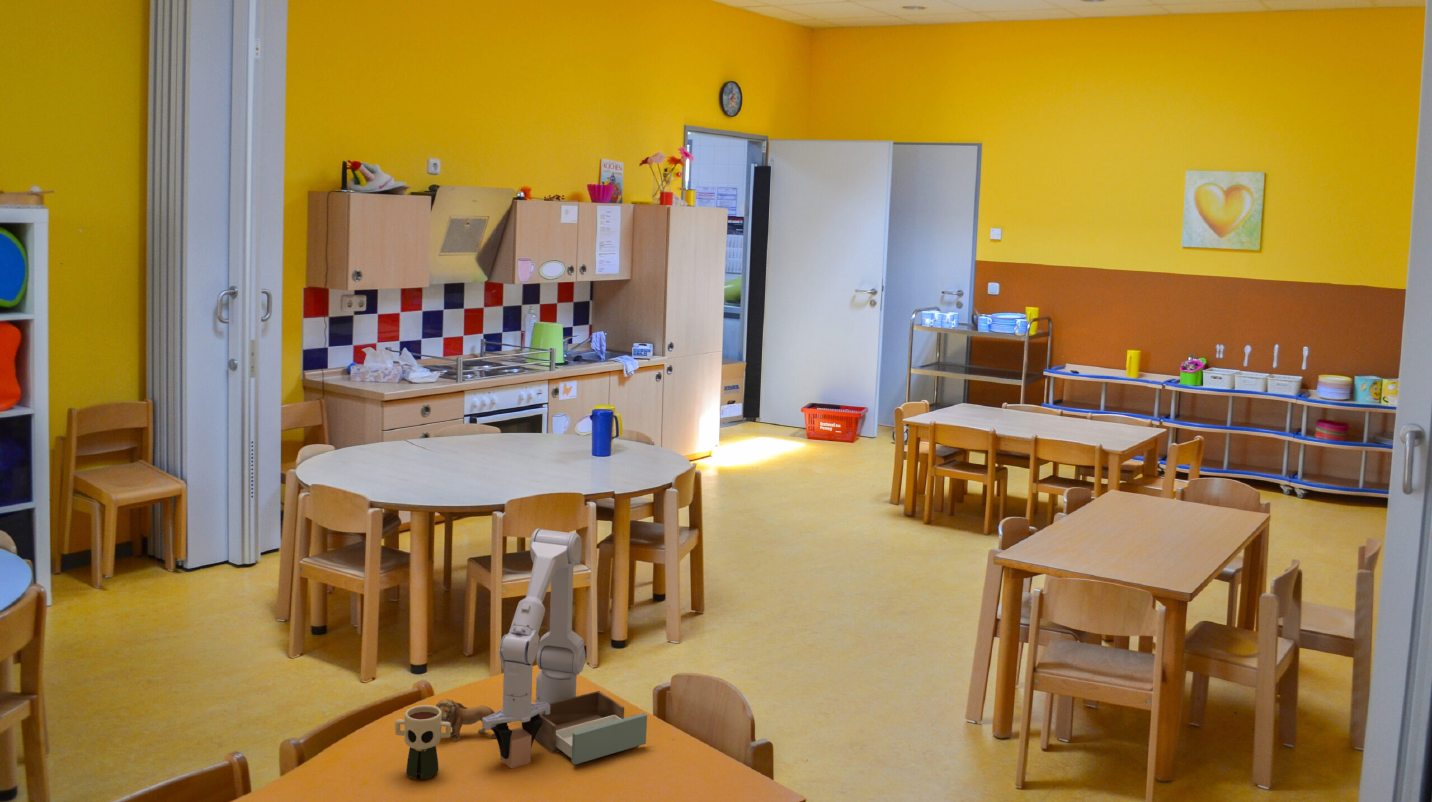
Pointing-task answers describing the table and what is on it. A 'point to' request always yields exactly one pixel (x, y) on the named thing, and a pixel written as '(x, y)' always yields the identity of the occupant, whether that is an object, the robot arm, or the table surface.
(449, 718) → the lion figurine
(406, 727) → the character mug
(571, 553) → the robot arm
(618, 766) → the table surface
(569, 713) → the cubby
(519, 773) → the table surface
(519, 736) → the terracotta block
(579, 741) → the green drawer
